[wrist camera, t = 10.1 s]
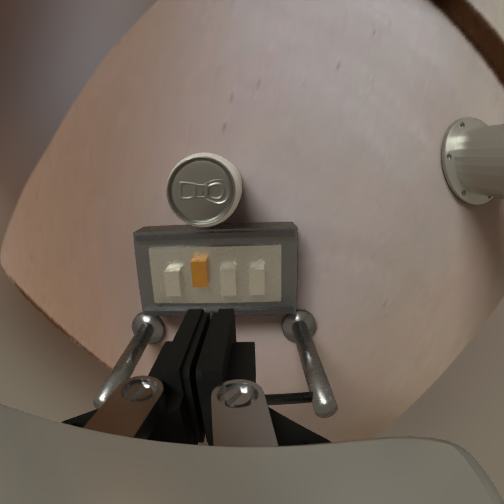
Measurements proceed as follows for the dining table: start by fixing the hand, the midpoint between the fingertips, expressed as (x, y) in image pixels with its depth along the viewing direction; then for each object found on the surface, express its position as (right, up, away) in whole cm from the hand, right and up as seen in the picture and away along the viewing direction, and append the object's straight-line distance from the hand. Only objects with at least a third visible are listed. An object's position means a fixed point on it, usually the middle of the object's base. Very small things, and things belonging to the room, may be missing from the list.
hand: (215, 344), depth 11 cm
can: (-3, +11, +25) cm, 28 cm away
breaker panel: (-3, +2, +27) cm, 28 cm away
